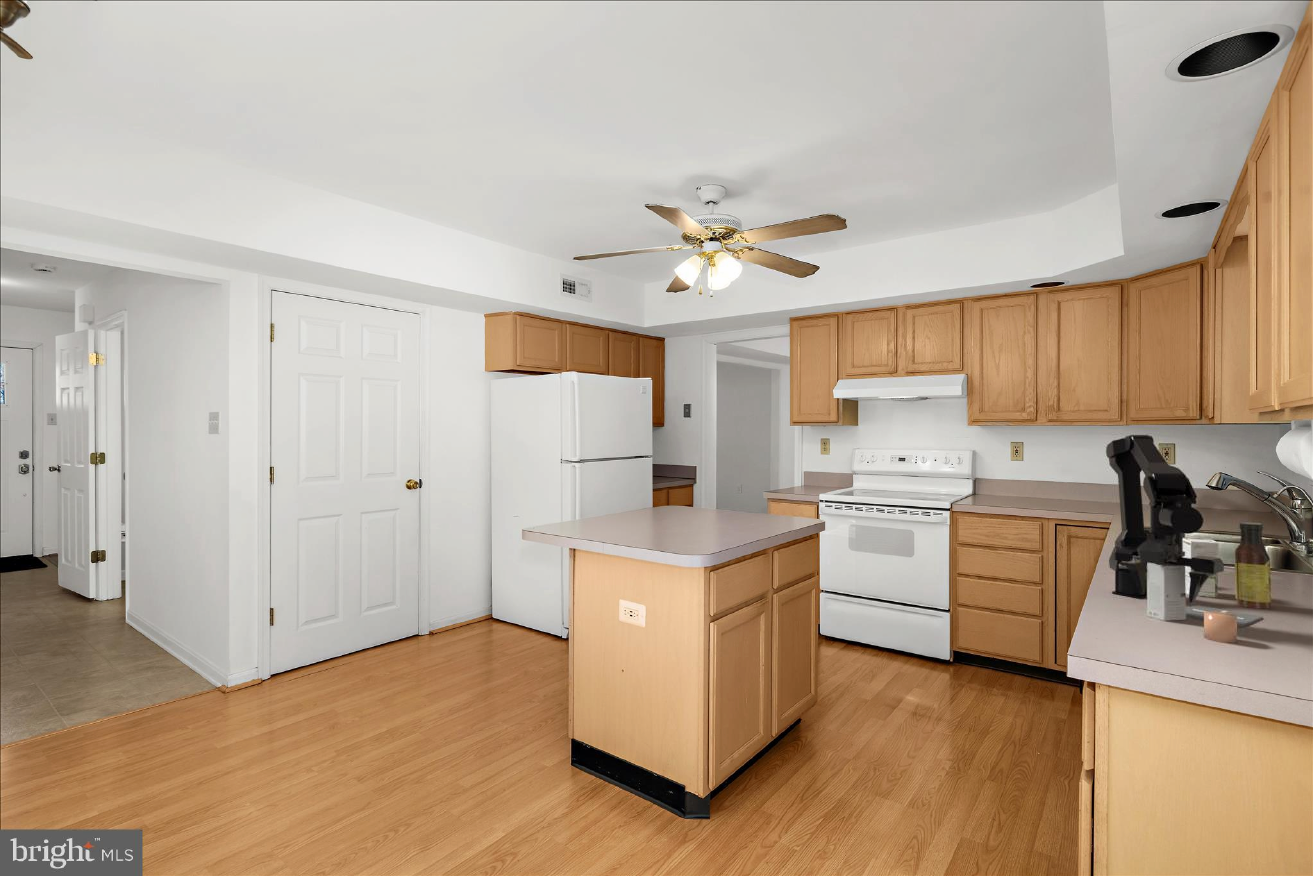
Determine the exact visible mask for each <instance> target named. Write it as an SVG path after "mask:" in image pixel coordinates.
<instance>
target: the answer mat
mask: <svg viewBox="0 0 1313 876" xmlns="http://www.w3.org/2000/svg"><path fill="white" fill-rule="evenodd" d="M1205 611H1218V612H1225V613H1229V614H1233V615H1236V616H1237V628H1243V627H1245V626H1249V625H1251V624H1254V623H1256V622H1258V621H1260V620H1262V619H1263V618H1264V617H1263V616H1260V615H1256V614H1249V613H1244V612H1239V611H1232V610H1226V609H1220V608H1216V607H1210V606H1205V605H1199V604H1195V605H1191V606H1189V607H1186V618H1187V617H1188V618H1193V619H1198V620H1201V621H1204V612H1205Z"/></svg>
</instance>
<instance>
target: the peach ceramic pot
mask: <svg viewBox="0 0 1313 876" xmlns="http://www.w3.org/2000/svg"><path fill="white" fill-rule="evenodd" d="M1203 638H1204V639H1206V640H1208V641H1212V642H1216V643H1223V644H1237V642H1238V627H1237V616H1236V615H1233V614H1229V613H1225V612H1218V611H1205V612H1204V620H1203Z"/></svg>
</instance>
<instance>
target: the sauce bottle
mask: <svg viewBox="0 0 1313 876" xmlns="http://www.w3.org/2000/svg"><path fill="white" fill-rule="evenodd" d="M1263 527H1264V526H1263V524H1262V523H1258V522H1239V530H1240V542H1239V545H1238V546H1237V547H1235V550H1234V558H1235V560H1234V581H1235V582H1234V585H1235V587H1234V589H1235V599H1236V601H1235V602H1236V603H1235V604H1236V605H1238V606H1240V607H1243V606H1244V607H1245V608H1247V609H1248V608H1250V609H1257V610H1268V609H1271V603H1272V586H1271V585H1272V584H1271V577H1272V575H1271V558H1270V556H1269V554H1268V551H1267V549H1266V547H1265V545H1264V543H1263V536H1262V534H1263V529H1264V528H1263Z"/></svg>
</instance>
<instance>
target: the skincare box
mask: <svg viewBox="0 0 1313 876" xmlns="http://www.w3.org/2000/svg"><path fill="white" fill-rule="evenodd" d="M1186 597H1187V594H1186V584H1185V566H1181V565H1174V564H1167V563H1166V564H1164V565H1156V564H1153V563H1147V597H1146V600H1147V602H1146V604H1147V605H1146V609H1147V611H1146V612H1147V613H1146V616H1148V617H1150V618H1152V619H1156V620H1159V621H1164V622H1168V621H1184V620H1186V619H1187V617H1186V608H1187V603H1186V602H1187V598H1186Z"/></svg>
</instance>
